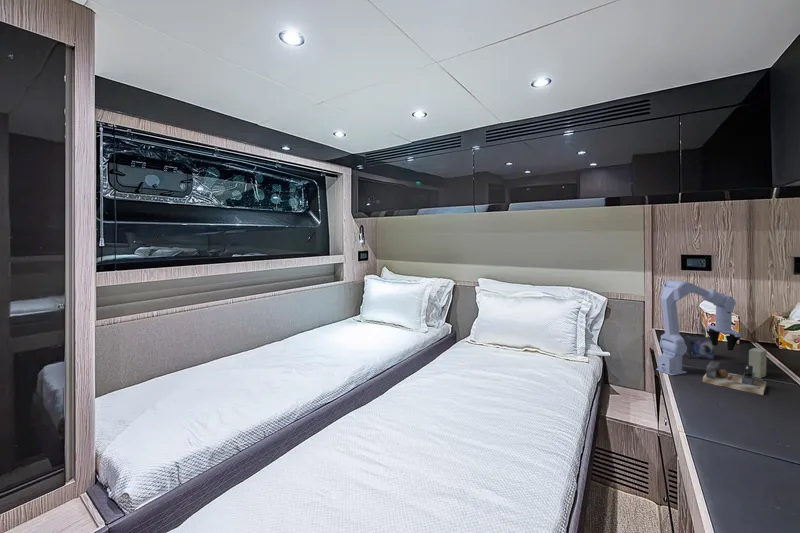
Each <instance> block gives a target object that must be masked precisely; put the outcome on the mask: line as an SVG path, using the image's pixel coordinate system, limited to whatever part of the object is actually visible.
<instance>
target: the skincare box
mask: <svg viewBox="0 0 800 533" xmlns="http://www.w3.org/2000/svg"><path fill="white" fill-rule="evenodd" d="M767 351H768V350H767V349H764V348H760V347H759V348H757V347H753V348H751V349H749V350H748V365H751V366H753V373H755V377H754V378H758V379H762V378H765V377H766V376H767V355H768V354H767V353H768V352H767Z"/></svg>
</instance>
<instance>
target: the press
mask: <svg viewBox="0 0 800 533" xmlns="http://www.w3.org/2000/svg"><path fill="white" fill-rule="evenodd" d="M705 369H706V370H705V372H706V373H705V374H704V375H703V376H702V383H705V384H710V385H714V386H721V387H723V386H724V388H727V389H728V388H729V389H733V390H737V391H743V392H748V393H752V394H756V395H759V396H760V395H761V396H764V393H765V390H766V387H767V381H764V379H762V378H756V377H754V382H753V384H752V385H748V384H744V383H742V376H743V375H741V374H736V373H731V372H728V371H727V370H726V369H722V368H721V369H720V362H719V361H714V360H710V361H709V363H708V364H707V365H706V368H705Z"/></svg>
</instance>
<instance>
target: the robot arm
mask: <svg viewBox="0 0 800 533" xmlns="http://www.w3.org/2000/svg"><path fill="white" fill-rule="evenodd" d="M661 287H662V294H661V297H660V298H661V300H660V301H661V309H662V317H663V318H662V320H663V327H664V333H663V334H661V335H660V341H659V347H660V348H661V350H662V353H661V354H660V355H658V357H657V368H656V370H657V371H658V372H661V373H664V374H667V375H669V376H675V375H681V374H687V372H688V371H686V370H683V357H684V355H685V353H686V351H687V346H686V341H685V339H684V338H683V337H682V335H681V334H680V326H679V316H678V310H677V309H678V307H677V302H678V301H679V300H682V299H683V298H685V297H687V296H688V295H689V294H695V295H698V296H701V298H702V299H703V300H704V301H706V302H708V303H711V304H713V305H714V307H715V323H714V324H715V325H711V324H710V325H709V324H708V325H706V334H707V335H708V336H709V337H710V339H711V342H712V345H713V346H714V347H715V346H718V344H719V343H718V342H719V338H720V337H719V336H720V334H725V338H726V341H727V342H726V343H727V344H726V345H727V351H734V348H735V346H736V344H737V343H738V341H739V340H740V339H741V335H742V334H741V332H739V331H735V330H733V328H732V316H733V311H734V308H735V307H736V304H737V302H736V300H735V298H734V297H732V296H729V295H725V293H723V292H718V291H717V290H716V289H714V288H710V289H709V288H708V289H705V288H702V287H700V286H699V285H696V284H694V283H691V282H688V281H680V280H674V279H668V280H666V281H665V282H664V283H663V284H662V286H661Z"/></svg>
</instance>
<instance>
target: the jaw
mask: <svg viewBox="0 0 800 533" xmlns="http://www.w3.org/2000/svg"><path fill="white" fill-rule="evenodd" d="M754 378H756V377H755V373H753V366H751V365H749V364H745V365H744V371H743V375H742V383H744V384H748V385H752V384H753V382H754Z"/></svg>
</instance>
